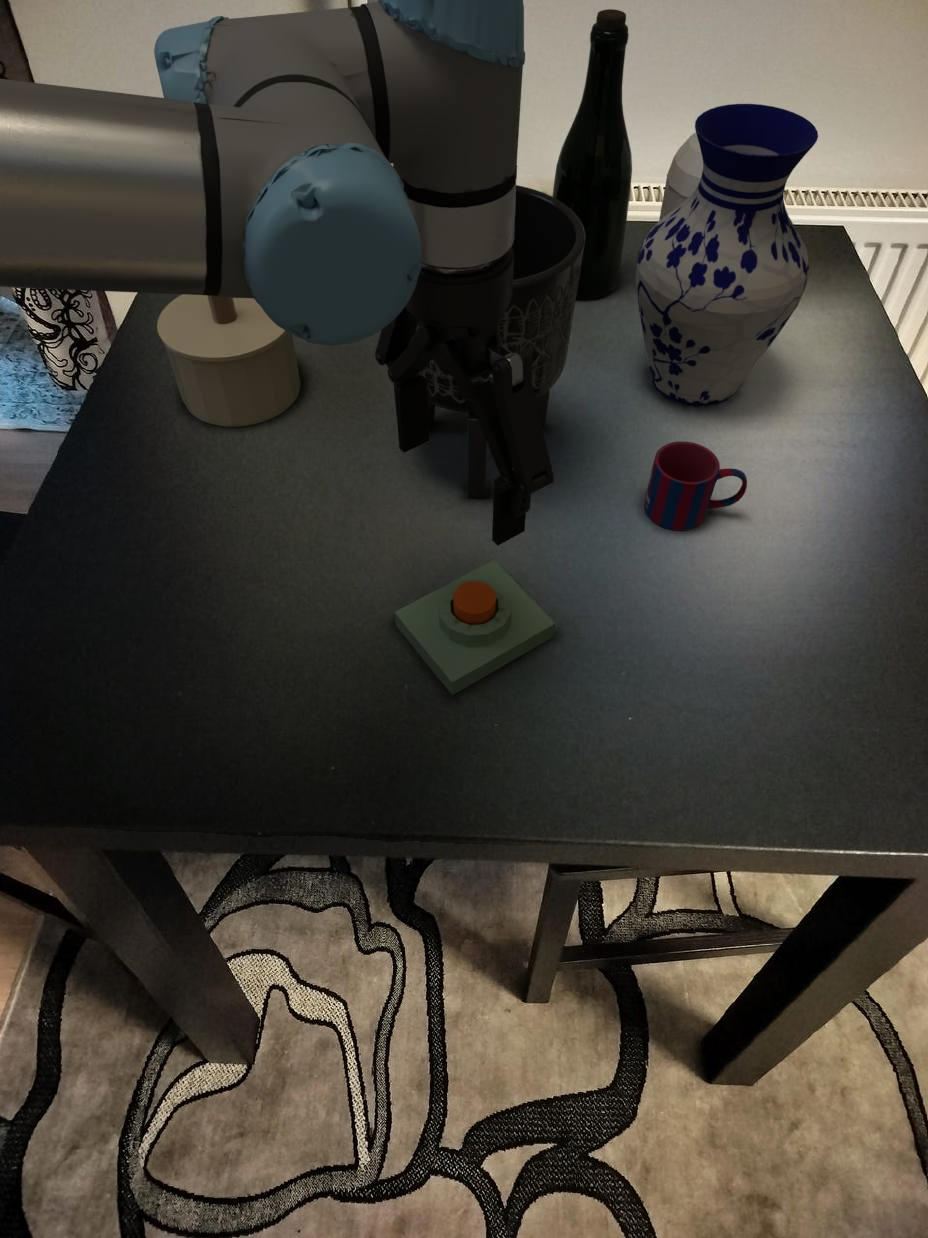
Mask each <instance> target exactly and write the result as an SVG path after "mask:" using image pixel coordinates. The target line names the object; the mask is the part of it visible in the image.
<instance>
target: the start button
mask: <svg viewBox="0 0 928 1238" xmlns="http://www.w3.org/2000/svg"><path fill="white" fill-rule="evenodd" d="M453 605H454V613H455V615H456V616H457V618H458V619H459V620H461V621H462V622H464V623H467V624H472V625H478V624H482V623H485V622H487V621H489V620H490V619H491V618H492V617H493V615H494V613H495V610H496V594H495V592H494V590H493V589H492V587H490V586H489V585H488V584H486V583H484V582H480V581H469V582H466V583H463V584H462V585H460V586H459V587H458V588H457V589H456V590H455V592H454V596H453Z"/></svg>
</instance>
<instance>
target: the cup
mask: <svg viewBox="0 0 928 1238" xmlns="http://www.w3.org/2000/svg"><path fill="white" fill-rule="evenodd" d="M720 467H721V466H720V461H719V458H718V457H717V456H716V454H715V453H714V452H713V451H712V450H711V449H709V448H708V447H705V446H704V445H701V444H699V443H695V442H691V441H673V442H669V443H667V444H665V445H663V446H661V447H660V448H659V449H658V450H657V451H656V453H655V456H654V460H653V464H652V468H651V472H650V478H649V481H648V486H647V490H646V494H645V499H644V504H643V507H644V511H645V513H646V515H647V517H648V518H649V519H650V520H651V521H652V522H653V523H654V524H656V525H657V526H659V527H662V528H664V529H667V530H672V531H687V530H690V529H693V528H696V527H697V526H699V525H700V524H701V523H702V522H703V521H704V520H705V517H706V515H707V512H708V510H712V509H713V510H715V509H721V508H726V507H729V506H732V505H734V504H736V503H738V502H739V501H740V500H741V499H742V498H743V497H744V495H745V493H746V491H747V487H748V478H747V476H746V473H745V472H744V471H742V470H741V469H738V468H730V467H729V468H720ZM726 477H736V478H738V479H740V480H741V486H740V488H739V490H738V491H737V492H736V493H735V494H734V495H732V496H729V497H727V498H722V499H711V498H712V496H713V492H714V490H715V487H716V483H717V482H718V481H719V480H721V479H723V478H726Z"/></svg>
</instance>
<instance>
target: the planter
mask: <svg viewBox="0 0 928 1238" xmlns="http://www.w3.org/2000/svg"><path fill="white" fill-rule="evenodd" d="M552 196H553V195H550V194H548V193H545V192H543V191H540V190H537V189H534V188H531V187H526V186H523V185H517V184H516V201H515V230H514V241H513V244H512V248H513V251H514V268H513V291H512V299H511V302H510V305H509V306H508V308H507V310H506V311H505V313H504V315H503V316H502V318H501V320H500V323H499V330H500V335H501V339H502V343H503V347H505V348H506V349H508V350H509V351H511V352H513V353H515V352H517V351H520V350H522V349H526V350H527V351H528V352H529V353H530V355H531V358H532V385H533V389H534V393H535V398H536V402H537V406H538V410H539V415H540V419H541V423H542V428H543V431H544V430H545V428H546V421H547V415H548V406H549V397H550V392H551V391H550V390H551V389H552V388H553V387H554V386H555V384H556V383H557V382H558V381H559V379H560V378H561V376H562V373H563V371H564V369H565V366H566V361H567V357H568V349H569V344H570V337H571V331H572V326H573V321H574V320H573V318H574V313H575V306H576V300H577V298H576V295H577V289H578V282H579V276H580V270H581V264H582V258H583V251H584V245H585V238H586V237H585V231H584V227H583V225H582V223H581V220H580V219H579V217H578V216H577V215H576V214H575V212H574V211H573V210H571V209H570V208H569V207H568V206H567V205H566V204H564V203H563V202H561V201H559V200H558V199H556V198H554V197H552ZM420 326H421V325H420V322H418V325H417V328H416V331H415V334H416V333H417V330H418V328H419V327H420ZM415 334H414V335H415ZM424 368H427V369H425V370H423V371H421V372H418V373H416V374H415V378H416V377H418V376H420V375H422V376H423V377H425V378H426V379H427V395H428V417H429V428H431V426H433V424H434V422H435V421H434V420H435V413H436V407H439V408H441V409H445V410H448V411H453V412H457V413H464V414H465V413H466V414H467V499H484V500H485V499H486V494H487V492H486V491H487V455H488V453H487V451H488V444H487V441H486V439H485V436H484V434H483V431H482V429H481V426H480V424H479V421H478V418H477V416H476V413H475V411H474V408H473V406H472V404H471V402H469V401H465V400H464V399H463V397H462V395H461V393H460V390H459V388H458V385H457V383H456V380H455V379H454V378H453V377H452V376H451V375H450V374H449V372H448V371H447V370H445V369H443V368H441V367H440V366H439V365H437V364H436V363H435V360H434V358H433V359H432V360H431V361H430V362H429V363H428V364H427V365H426V366H425V367H424ZM490 374H492V373H491V370H490V368H489V369H488V370H487V372H486V373H485V374H484V375H482V376H480V377H478V378H476V379H473V380H471V381H472V384H473V385H474V386H477V385H480V384H482V383H484V382H486V381H489V375H490Z"/></svg>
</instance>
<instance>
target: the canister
mask: <svg viewBox="0 0 928 1238" xmlns="http://www.w3.org/2000/svg"><path fill="white" fill-rule="evenodd" d="M293 337H294V336H293V335H292V334H290V333H289V332H288V333H287V334H286V335H285V336H284V338H283V339H281V340H280V341H279V342H278V343H277V344H275V345H274V346H272V347H271V348H269V349H267V350H265V351H263V352H261V353H258V354H256V355H253V356H250V357H246V358H242V359H238V360H232V361H223V362H206V361H198V360H192V359H188V358H185V357H182V356H180V355H178V354H176V353H174V352H172V351H171V350H169V349H168V348H167V347H166V346H165V345H164V348H165V350H166V353H167V358H168V359H169V360H168V361H169V362H170V366H171V369H172V372H173V373H172V374H173V375H174V378H175V383H176V385H177V388H178V391H179V395H180V398H181V401H182V402H183V403H184V406H185V408H186V409H187V410H188V412H189V413H190V414H191V415H192V416H193V417H195V418H196V419H198V420H200V421H201V422H204V423H207V424H210V425H214V426H220V427H227V428H228V427H229V428H231V427H233V428H234V427H235V428H237V427H247V426H248V427H249V426H253V425H257V424H261V423H264V422H266V421H269V420H271V419H273V418H276V417H277V416H280V415H281V414H282V413H284V412H285V411H286V410H288V409H289V408H290V407H291V406H292V405H294V403H295V401H296V400H297V398H298V396H299V394H300V392H301V385H302V384H301V378H300V372H299V366H298V360H297V353H296V349H295V344H294V343H295V342H294V338H293Z"/></svg>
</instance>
